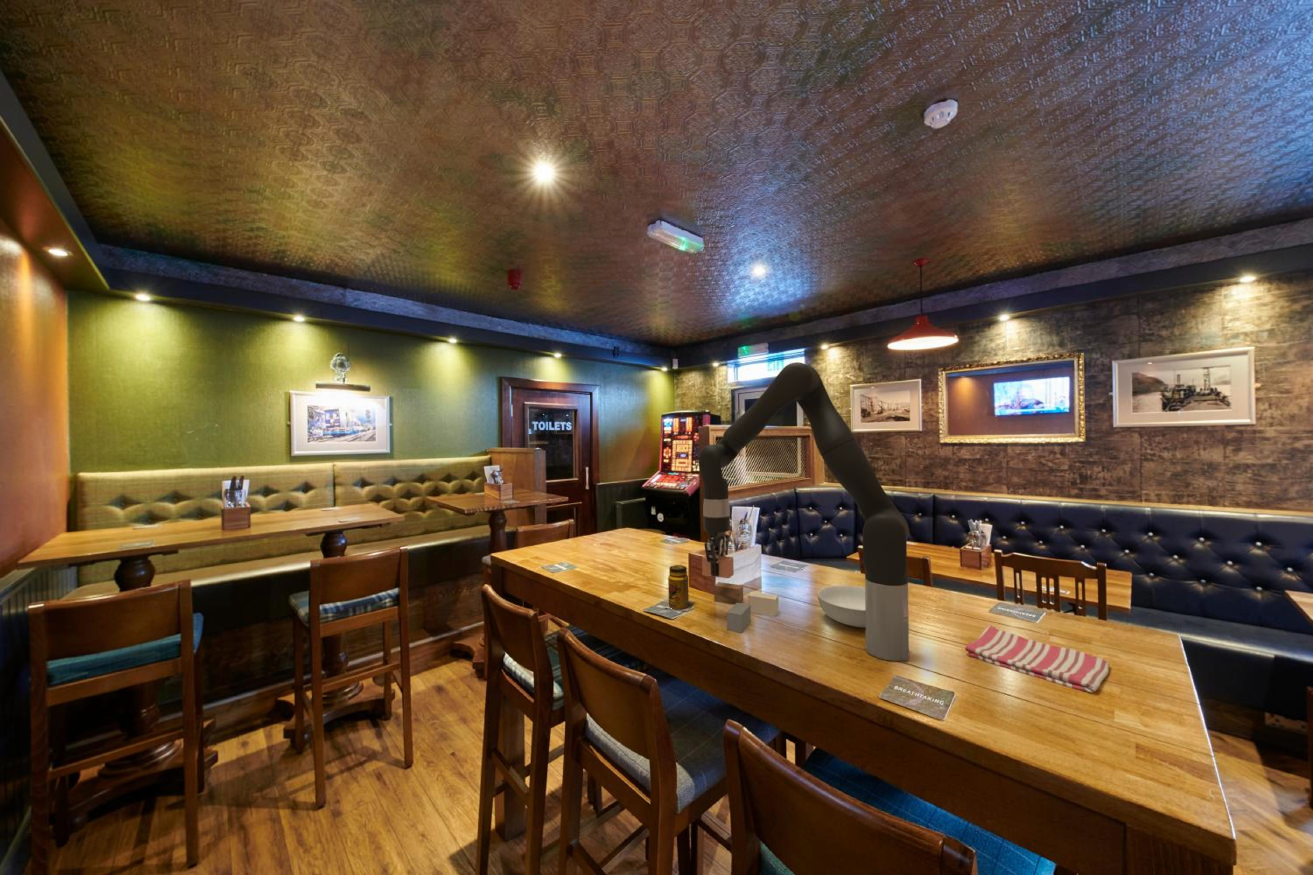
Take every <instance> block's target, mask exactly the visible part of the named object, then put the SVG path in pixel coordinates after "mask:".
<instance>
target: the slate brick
mask: <svg viewBox="0 0 1313 875" xmlns="http://www.w3.org/2000/svg"><path fill="white" fill-rule="evenodd" d="M751 614H752V613H751V605H748V603H747V604H746V603H743V602H742V603H736V604H735V605H734V604H733V605H732V606H731V607H730V608H729V609H728V610H727V612H726V631H727V632H733V633H738V634H743V632H744V631H746V629H747V628H748V626H749V625H750V624H751V621H752V620H751V619H752V618H751V616H752V615H751Z"/></svg>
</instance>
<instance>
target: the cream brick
mask: <svg viewBox="0 0 1313 875" xmlns="http://www.w3.org/2000/svg"><path fill="white" fill-rule="evenodd" d="M779 598H780V596H779V595H777V594H773V593H766V592H759V591H750V593H748V595H747V604H748V605H751V614H756V615H762V616H763V615H764V616H770V617H774V618H775V617H777V615H778V614H779V612H780V610H779V608H780V607H779V605H780V603H779V602H780V601H779Z"/></svg>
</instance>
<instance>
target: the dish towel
mask: <svg viewBox="0 0 1313 875" xmlns="http://www.w3.org/2000/svg"><path fill="white" fill-rule="evenodd" d="M964 650H965V651H966V652H967V656H968V657H970V658H972V659H973V658H974V659H978V660H980V661H982V662H986V663H988V664H991V665H995V666H998V667H1001V668H1005V669H1008V670H1012V671H1015V672H1018V673H1020V674H1023V675H1027V676H1031V677H1034V678H1038V679H1042V680H1045V681H1046V682H1050V683H1054V684H1057V685H1060V686H1063V687H1067V688H1070V689H1073V690H1077V691H1082V692H1086V693H1090V694H1092V693H1096V691H1097V690H1098V689H1099V688H1100V685H1101V683H1103V681H1104V679H1105V678H1106V677H1107V675H1108V674H1109V670H1110V669H1109V668H1110V667H1111V666H1110V664H1109V662H1108V661H1107V660H1105V659H1103V658H1101V657H1099V656H1098V657H1097V656H1094V655H1091V654H1088V653H1086V652H1082V651H1079V650H1077V649H1072V648H1067V647H1059V646H1055V645H1051V644H1046V643H1043V642H1040V641H1036V640H1034V639H1027V638H1025V637H1023V636H1020V635H1018V634H1016V633H1011V632H1009V631H1005V630H1003V629H998V628H996V627H995V626H993V625H989V626H987V627H986V628H985V629H984V630H983V632H982V633H981V634H980V636H979V637H978V638H977V639H976V640H975V641H971V642H968V643H967V644H966V646H965V647H964Z"/></svg>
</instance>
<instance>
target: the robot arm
mask: <svg viewBox="0 0 1313 875" xmlns="http://www.w3.org/2000/svg"><path fill="white" fill-rule="evenodd" d="M793 401H795V402H797V404H798V406H799V407H800V408H801V410H802V411H803V413H804V414H805V416H806V418H807V421H808V422H809V425H810V428H811V431H812V436H813V439H814V442H815V445H816V449H817V450H818V453H819V454H820V457H821V458H822V460H823V461H824V464H825V466H826V467H827V468H828V470H829V472H830V474H831V475H832V476H833V477H834V479H835V480H836V481H837V482H838V483H839V485H841V487H842V488H843V489H844V490H845V491H846V492H847V493H848V495H850V497H851V498H852V499H853V500H854V502H855V504H856V506H857V508H858V510H859V511H860V513H861V515H862V518H863V520H864V525H863V528H862V564H863V568H864V587H865V628H864V629H865V635H864V636H865V639H864V640H865V643H864V644H865V650H866V652H867V653H868V654H870V655H871V656H873V657H875V658H878V659H882V660H885V661H891V662H892V661H893V662H897V661H906V662H908V661H909V659H910V656H909V654H910V649H909V648H910V645H909V644H910V643H909V642H910V641H909V640H910V639H909V638H910V636H909V635H910V634H909V633H910V632H909V631H910V630H909V629H910V628H909V627H910V626H909V623H910V620H909V617H910V616H909V615H910V614H909V570H908V559H907V558H908V551H907V550H908V549H907V547H908V546H907V542H908V541H907V540H908V538H909V535H910V527H909V524H908V521H907V520H906V518H905V517H904V516H903V515H902V513H901V512H900V511H899V509H898V508H897V507H896V506H895V504H894V503H893V501H892V500H891V498H890V497H889V496H888V495H887V493H886V491H885V490H884V488H883V487H882V485H881V483H880V482H879V479H878V477H877V475H876V473H875V471H874V469H873V467H872V465H871V463H870V461H869V459H868V457H867V456H866V453H865V452H864V450H863V448H862V447H861V444H860V442H859V441H858V440H857V438H856V437H855V435H854V434H853V432H852V431H851V429H850V428H849V426H848V425H847V423H846V422H845V420H844V419H843V417H842V415H841V414H840V413H839V412H838V410H837V409H836V407H835V406H834V404H833V402H832V400H831V398H830V396H829V394H828V391H827V389H826V387H825V384H824V382H823V380H822V378H821V376H820V374H819V372H818V371H817V369H815V368H814V367H813V366H811V365H809V364H806V363H803V362H792V363H788V364H787V365H785V366H784V367H783V368H782V369H781V371H779V373H778V374H777V375H776V376H775V378H774V379H773V381H772V382H771V383H770V384H769V386H768V387H767V388H766V389H765V391H764V392H763V393H762V394H761V395H760V396H759V397H758V398H757V400H756V401H754V403H753V404H752V405H751V406H750V407H749V408H748V409H747V410H746V411H745V412H743V414H742V415H740V417H738V418H737V419H736V420H735V421H734V422H733V423H732V424H731V425H730V426H728V427H727V428H726V430H725V431H724V432H723V434H722V435H723V436H722V438H721V439H720V440H719V441H718V442H717V443H716V444H707V445H705V446H703V447H702V448H701V449H700V451H699V455H698V467H699V473H700V475H701V476H700V477H701V479H702V483H703V506H702V507H703V508H702V511H703V512H702V513H703V515H702V516H703V531H704V532H707V533H708V535H709V536H708V540H707V542H704V545H703V546H704V551H705V552H704V553H705V556H706V558H707V562H710V563H711V575H712V576H711V577H713V576H716V577H715V578H718V577H717V576H719V556H728V554H729V553H728V552H729V542H730V535H729V534H726V533H727V532H729V531H730V530H731V512H730V510H731V509H730V501H729V500H730V499H729V484H728V480H727V479H726V478H725V477H723V476H724V475H723V471H722V469H723V468H726V467H727V466H728V465H730V464H731V463H732V462H733V461H734V460H735V458H736V457H737V456H738V455H739V454H740V452H741V451H742V450H743V449H744V448H745V447H747V446H748V445H749V444H750V443H751V442H752V441H753V440H754V439H756V438H757V437H758V436H759V435H760V434H761V432H762V431H763V430H764V429H765V428H766V427H767V425H768V423H769V422H770V421H771V420H772V418H773V417H775V415H776V414H777V413H778V412H780V411H781V409H783V408H784V407H786V406H787V405H789V404H790V403H792V402H793Z"/></svg>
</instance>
